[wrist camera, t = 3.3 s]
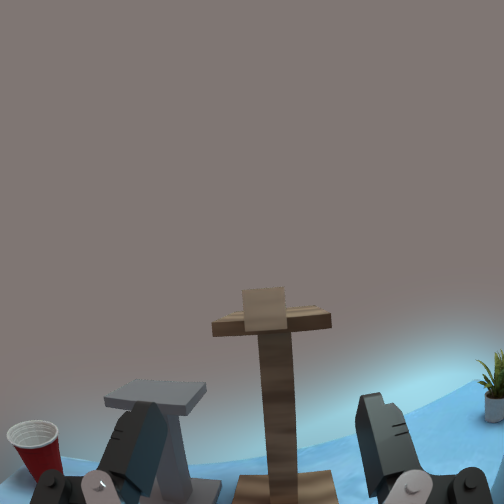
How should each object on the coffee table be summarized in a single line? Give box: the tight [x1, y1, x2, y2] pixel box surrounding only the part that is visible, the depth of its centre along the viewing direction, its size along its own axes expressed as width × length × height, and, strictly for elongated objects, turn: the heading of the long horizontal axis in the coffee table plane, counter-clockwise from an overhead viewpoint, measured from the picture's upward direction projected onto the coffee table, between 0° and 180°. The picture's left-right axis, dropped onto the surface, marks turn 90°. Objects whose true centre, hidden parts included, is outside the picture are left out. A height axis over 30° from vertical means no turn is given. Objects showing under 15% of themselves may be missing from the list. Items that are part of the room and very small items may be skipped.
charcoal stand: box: [104, 379, 222, 504], centre depth 36 cm, size 12×12×22 cm
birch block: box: [242, 287, 287, 332], centre depth 33 cm, size 24×3×3 cm, turn 174°
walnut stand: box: [212, 305, 339, 504], centre depth 35 cm, size 16×16×32 cm
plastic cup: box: [7, 420, 63, 483], centre depth 31 cm, size 11×11×12 cm
